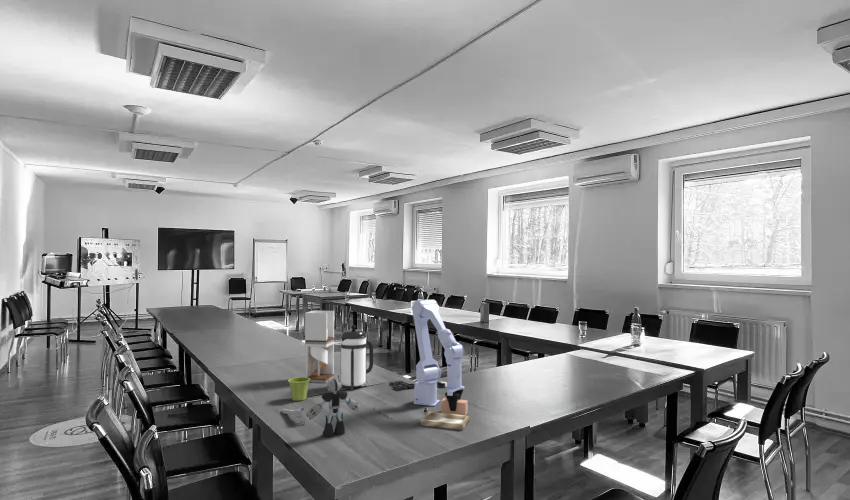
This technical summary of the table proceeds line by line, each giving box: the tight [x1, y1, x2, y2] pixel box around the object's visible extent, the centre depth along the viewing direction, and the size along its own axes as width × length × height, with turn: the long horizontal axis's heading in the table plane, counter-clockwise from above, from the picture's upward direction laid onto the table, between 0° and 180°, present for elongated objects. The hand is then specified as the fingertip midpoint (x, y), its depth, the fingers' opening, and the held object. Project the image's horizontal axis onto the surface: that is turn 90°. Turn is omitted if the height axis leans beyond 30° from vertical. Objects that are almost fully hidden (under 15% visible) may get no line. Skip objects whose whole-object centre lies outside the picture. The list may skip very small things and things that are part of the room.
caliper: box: [280, 406, 306, 426], centre depth 180 cm, size 21×1×6 cm, turn 39°
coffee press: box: [339, 324, 374, 391], centre depth 227 cm, size 17×16×30 cm
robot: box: [305, 375, 361, 438], centre depth 163 cm, size 20×5×20 cm, turn 120°
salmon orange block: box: [440, 397, 469, 416], centre depth 186 cm, size 10×4×5 cm, turn 71°
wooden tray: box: [420, 411, 470, 431], centre depth 173 cm, size 16×10×2 cm, turn 71°
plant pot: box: [287, 376, 310, 402], centre depth 205 cm, size 9×9×9 cm
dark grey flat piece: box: [388, 380, 447, 392], centre depth 227 cm, size 20×25×3 cm
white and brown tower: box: [304, 310, 335, 384], centre depth 239 cm, size 11×11×35 cm
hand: (454, 409), depth 186 cm, fingers closed on salmon orange block, 4 cm apart
